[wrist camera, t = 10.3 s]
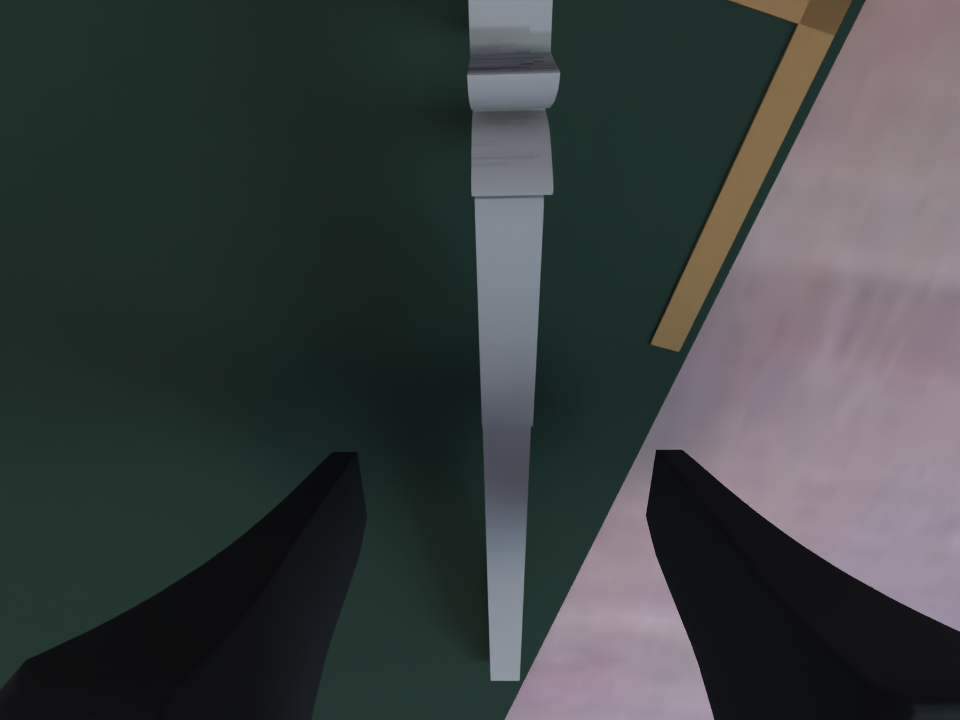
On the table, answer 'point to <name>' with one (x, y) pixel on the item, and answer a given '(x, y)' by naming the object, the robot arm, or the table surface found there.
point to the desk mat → (351, 296)
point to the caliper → (509, 279)
